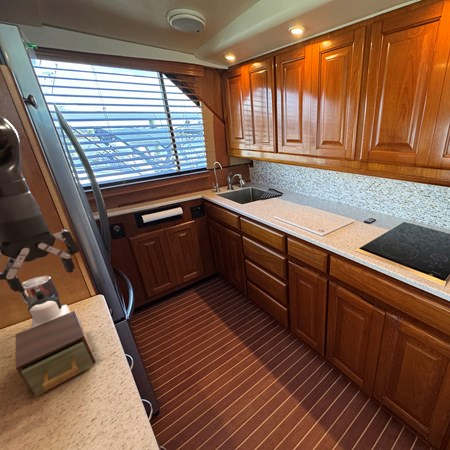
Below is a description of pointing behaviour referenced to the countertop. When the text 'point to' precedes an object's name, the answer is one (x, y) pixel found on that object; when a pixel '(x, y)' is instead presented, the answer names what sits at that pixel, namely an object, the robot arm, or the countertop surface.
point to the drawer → (57, 367)
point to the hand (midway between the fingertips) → (47, 280)
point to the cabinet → (49, 340)
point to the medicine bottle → (46, 310)
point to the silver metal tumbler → (38, 289)
